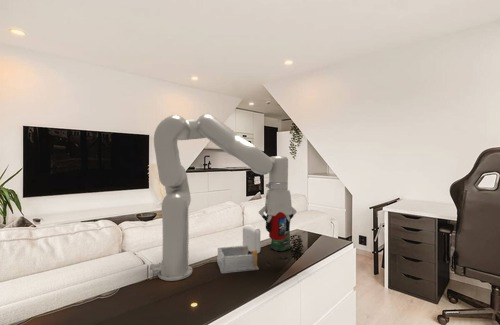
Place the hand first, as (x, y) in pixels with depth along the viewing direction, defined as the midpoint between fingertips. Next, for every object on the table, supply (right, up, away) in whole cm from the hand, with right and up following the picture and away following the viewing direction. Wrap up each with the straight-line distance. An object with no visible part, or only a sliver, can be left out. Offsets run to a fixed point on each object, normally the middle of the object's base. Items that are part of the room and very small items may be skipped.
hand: (277, 230), depth 104 cm
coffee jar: (+4, -16, +24) cm, 29 cm away
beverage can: (0, -4, 0) cm, 4 cm away
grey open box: (-16, -15, +4) cm, 23 cm away
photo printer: (-10, -15, +21) cm, 28 cm away
